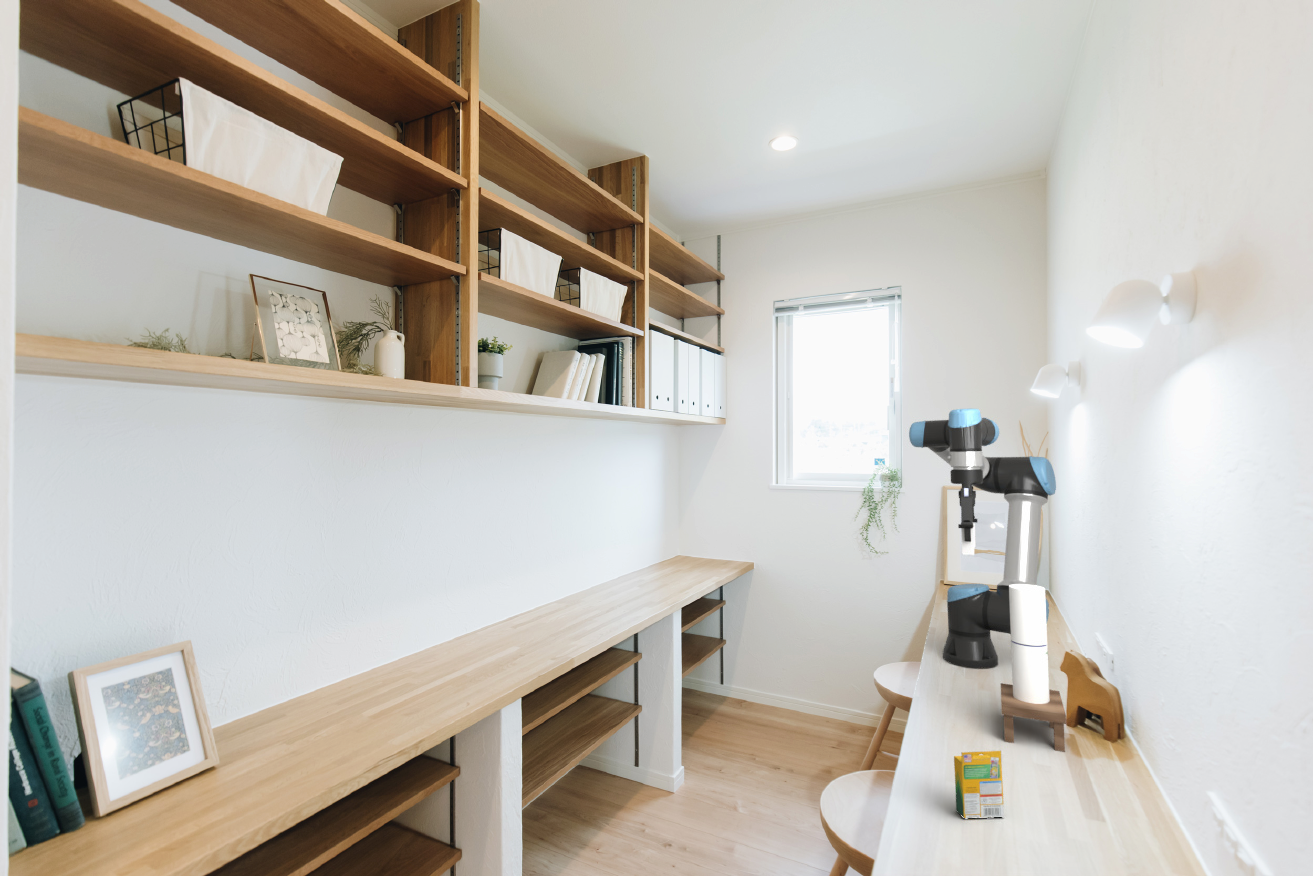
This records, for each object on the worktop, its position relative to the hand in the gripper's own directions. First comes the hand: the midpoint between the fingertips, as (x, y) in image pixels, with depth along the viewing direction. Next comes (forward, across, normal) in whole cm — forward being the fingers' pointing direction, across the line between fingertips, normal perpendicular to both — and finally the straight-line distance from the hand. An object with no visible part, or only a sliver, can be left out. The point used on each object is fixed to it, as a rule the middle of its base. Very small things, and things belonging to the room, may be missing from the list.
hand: (969, 551), depth 161 cm
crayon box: (+39, +55, +2) cm, 67 cm away
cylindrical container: (+31, +14, +12) cm, 36 cm away
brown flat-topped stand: (+39, +14, +12) cm, 43 cm away
